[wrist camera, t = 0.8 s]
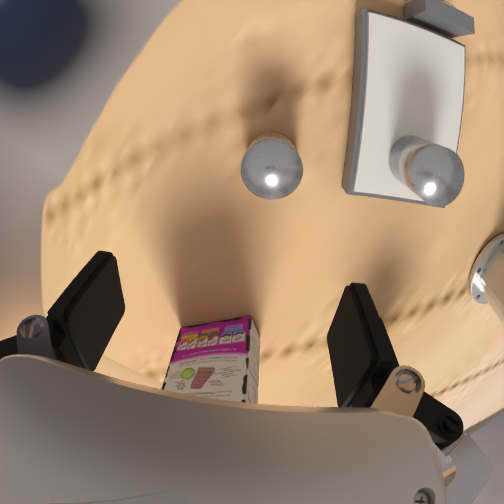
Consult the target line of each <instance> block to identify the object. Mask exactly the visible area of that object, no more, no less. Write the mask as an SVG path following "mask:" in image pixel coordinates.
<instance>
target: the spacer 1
mask: <svg viewBox="0 0 504 504" xmlns="http://www.w3.org/2000/svg"><path fill="white" fill-rule="evenodd" d="M302 175H303V165H302V161H301V159H300V156H299V154H298V152H297V150H296V148H295V146H294V145H293V143H292V142H291V140H290V139H288V138H287V137H286V136H284V135H282V134H280V133H275V132H268V133H263V134H261V135H259V136H257V137H256V138H255V139H254V140H253V141H252V142H251V143H250V145H249V147H248V149H247V151H246V153H245V155H244V157H243V160H242V163H241V176H242V179H243V181H244V184H245V185H246V187H247V188H248V189H249V190H250V191H251V192H252V193H254V194H255V195H257V196H259V197H261V198H265V199H279V198H283V197H285V196H287V195H289V194H291V193H292V192H293V191H294V190H295V189H296V188H297V187H298V185H299V184H300V181H301V179H302Z"/></svg>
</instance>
